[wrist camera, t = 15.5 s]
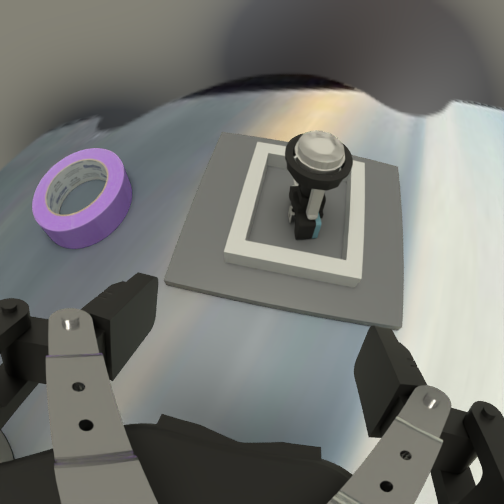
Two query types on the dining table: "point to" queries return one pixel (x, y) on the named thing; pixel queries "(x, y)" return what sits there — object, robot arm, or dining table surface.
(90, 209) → the masking tape
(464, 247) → the dining table surface
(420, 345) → the dining table surface
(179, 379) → the dining table surface
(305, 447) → the robot arm
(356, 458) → the dining table surface
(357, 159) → the plate
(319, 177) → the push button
